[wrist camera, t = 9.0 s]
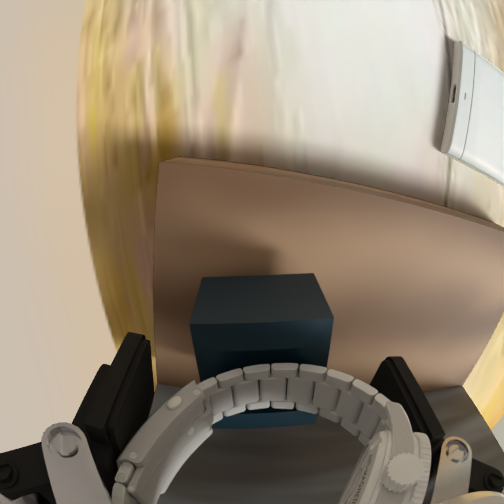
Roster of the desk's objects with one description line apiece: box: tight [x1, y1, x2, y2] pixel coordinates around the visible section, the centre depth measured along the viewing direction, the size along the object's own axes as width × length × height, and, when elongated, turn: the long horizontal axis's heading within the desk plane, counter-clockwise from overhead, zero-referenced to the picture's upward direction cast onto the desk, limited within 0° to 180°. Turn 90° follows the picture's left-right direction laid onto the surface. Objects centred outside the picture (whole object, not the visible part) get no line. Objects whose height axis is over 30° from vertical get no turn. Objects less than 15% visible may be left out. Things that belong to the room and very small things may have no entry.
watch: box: [112, 273, 431, 504], centre depth 7 cm, size 6×8×11 cm
